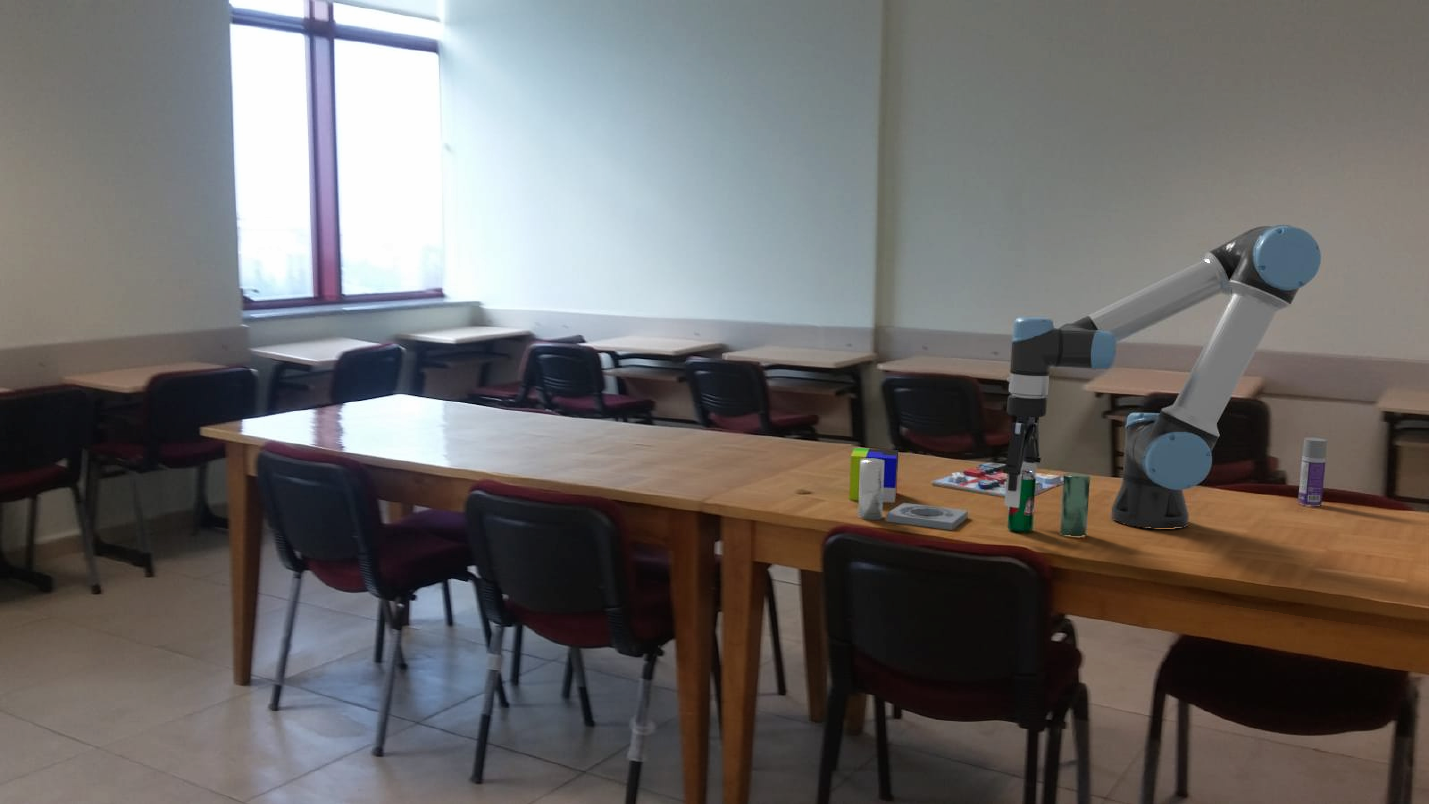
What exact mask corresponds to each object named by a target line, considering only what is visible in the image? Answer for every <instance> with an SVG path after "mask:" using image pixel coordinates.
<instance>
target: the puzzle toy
mask: <svg viewBox="0 0 1429 804" xmlns="http://www.w3.org/2000/svg"><path fill="white" fill-rule="evenodd" d="M865 458H874V459H881V460H884V485H883V503H894V504H895V503H896V497H897V491H898V466H899V450H895V449H881V448H880V449H878V448H860V447H854V448H853V450H852V453H851V455H850V466H849V468H850V469H849V471H850V473H849V477H850V478H849V496H848V498H849V501H859V480H860V460H861V459H865Z"/></svg>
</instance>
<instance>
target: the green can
mask: <svg viewBox="0 0 1429 804" xmlns="http://www.w3.org/2000/svg"><path fill="white" fill-rule="evenodd" d="M1062 477H1063V484H1062V493H1061V510H1060V512H1061V513H1060V527H1059V534H1060V533H1061V534H1062V535H1071V536H1082V535H1086V536H1087V527H1088V526H1087V525H1088V514H1089V511H1088V510H1089V499H1090V498H1089V497H1090V484H1091V482H1090V481H1091V476H1090V475H1088V474H1084V473H1075V472H1073V473H1071V472H1069V473H1068V472H1067V473H1064V474H1063V475H1062ZM1062 535H1061V536H1062Z"/></svg>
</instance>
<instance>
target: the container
mask: <svg viewBox="0 0 1429 804" xmlns="http://www.w3.org/2000/svg"><path fill="white" fill-rule="evenodd" d="M1327 443H1328V441H1327V439H1325V438H1319V437H1304V440H1303V449H1302V450H1303V451H1302V455H1301V456H1302V457H1301V458H1302V459H1301V466H1300V478H1299V480H1300V481H1299V489H1298V498H1297V499H1298V501H1297V503H1298V502H1299V503H1302V504H1304V505H1311V506H1318V505H1321V506H1322V502H1323V500H1322V499H1323V491H1324V480H1325V472H1326V471H1325V470H1326V460H1327V459H1326V458H1327Z"/></svg>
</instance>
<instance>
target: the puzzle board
mask: <svg viewBox="0 0 1429 804" xmlns="http://www.w3.org/2000/svg"><path fill="white" fill-rule="evenodd" d="M1005 465H1006V463H999V462H987V463H982V464H979V465H978V466H976V467H974V468H973V467H970V468H967V469H964V470H963V471H961V472H960V471H957V472H952V473H951V475H948V476H944V477H941V478H938V479H934V480H931V486H932V487H933V486H934V487H940V488H944V489H952V490H957V491H964V492H970V493H975V494H981V495H988V496H994V497H998V498H1004V499H1005V493H1006V480H1007V474H1006V473H1003V469H1005ZM1021 470H1022V468H1021ZM1035 477H1036V490H1035V496H1036V495H1038V494H1041V493H1043V492H1046V490H1047V491H1049V490H1051V489H1050V488H1052V487H1054V486H1057V485H1059V486H1061V484H1062V485H1063V476H1060V475H1058V474H1057V475H1056V474H1047V473H1041V472H1036V475H1035ZM1057 487H1058V486H1057ZM1054 488H1055V487H1054ZM1048 489H1049V490H1048ZM1052 489H1053V488H1052Z"/></svg>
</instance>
